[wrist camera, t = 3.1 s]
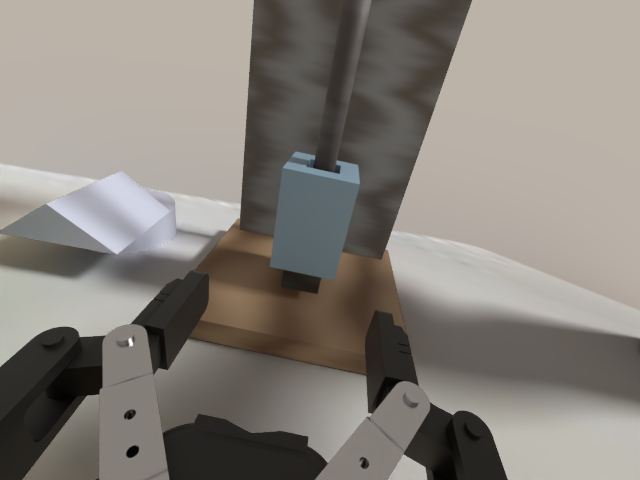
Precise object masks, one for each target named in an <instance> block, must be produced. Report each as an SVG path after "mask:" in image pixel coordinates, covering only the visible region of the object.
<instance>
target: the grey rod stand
mask: <svg viewBox="0 0 640 480" xmlns="http://www.w3.org/2000/svg"><path fill="white" fill-rule="evenodd" d="M471 2H472V0H254V9H253V25H252V40H251V56H250V57H251V58H250V72H249V88H248V105H247V119H246V137H245V151H244V167H243V183H242V198H241V214H240V219H239V218H238V219H237V220H236V222H235V223H234V224H233V225H232V226H231V228H230V229H229V230H228V231H227V232H226V234H225V235H224V236H223V237H222V238H221V240H220V241H219V242H218V243H217V244H216V246H215V247H214V248H213V249H212V250H211V252H210V253H209V254H208V255H207V256H206V258H205V259H204V260H203V261H202V262H201V264H200V265H199V266H198V267H197V268H196V270H195V271H198V272H202V273H207V274H208V275H209V301H208V305H207V308H206V310H205V312H204V314H203V315H202V317H201V319H200V320H199V322H198V323H197V325H196V326H195V328H194V329H193V331H192V333H191V334H190V336H189V338H194V339H199V340H203V341H208V342H213V343H218V344H222V345H227V346H232V347H237V348H241V349H246V350H251V351H256V352H260V353H265V354H270V355H275V356H279V357H284V358H289V359H294V360H298V361H303V362H308V363H313V364H317V365H322V366H327V367H332V368H337V369H341V370H346V371H351V372H356V373H360V374H365V375H366V359H365V338H366V334H367V331H368V328H369V325H370V323H371V320H372V317H373V315H374V312H375V310H379V311H384V312H389V313H392V315H393V320H394V325H397V326H401V327H402V328H403V330H404V331H405V326H404V322H403V317H402V313H401V308H400V303H399V299H398V294H397V290H396V285H395V281H394V276H393V271H392V267H391V262H390V258H389V253H388V250H385V248H386V246H387V243H388V240H389V237H390V234H391V231H392V228H393V225H394V222H395V220H396V217H397V214H398V211H399V208H400V205H401V202H402V199H403V197H404V194H405V191H406V188H407V185H408V182H409V180H410V176H411V173H412V171H413V168H414V165H415V162H416V159H417V157H418V154H419V151H420V147H421V145H422V142H423V139H424V137H425V134H426V131H427V128H428V125H429V122H430V119H431V116H432V114H433V111H434V108H435V105H436V102H437V99H438V96H439V94H440V91H441V88H442V85H443V82H444V79H445V76H446V73H447V70H448V68H449V65H450V62H451V59H452V56H453V53H454V51H455V48H456V45H457V42H458V39H459V36H460V33H461V30H462V28H463V25H464V22H465V19H466V16H467V13H468V10H469V7H470V5H471ZM295 152H301V153H305V154H310V155H315V160H314V166H313V168H314V169H319V170H323V171H328V172H333V173H334V171H335V167H336V162H337V160H338V161H342V162H347V163H352V164H356V165H358V168H359V180H360V186H359V190H358V193H357V197H356V201H355V205H354V208H353V212H352V216H351V220H350V223H349V227H348V231H347V235H346V238H345V242H344V246H343V250H342V253H341V257H340V261H339V265H338V269H337V272H336V276H335V280H330V279H325V278H321V277H316V276H311V275H306V274H302V273H297V272H292V271H288V270H283V269H278V268H273V267H270V262H271V254H272V246H273V238H274V231H275V223H276V215H277V207H278V200H279V192H280V184H281V176H282V169H283V167H284V165H285V164H286V163H287V162H288V160H289V159H290V158H291V157H292V155H293V154H294V153H295ZM405 333H406V331H405Z"/></svg>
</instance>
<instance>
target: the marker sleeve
mask: <svg viewBox="0 0 640 480" xmlns="http://www.w3.org/2000/svg"><path fill="white" fill-rule="evenodd" d="M314 160H315V155H310V154H305V153H301V152H295V153H294V154H293V155H292V157H291V158H290V159H289V160H288V162H287V163H286V164H285V165H284V167H283V169H282V176H281V184H280V192H279V200H278V207H277V215H276V223H275V231H274V238H273V246H272V254H271V262H270V267H273V268H278V269H283V270H288V271H292V272H297V273H302V274H306V275H311V276H316V277H321V278H325V279H330V280H335V276H336V272H337V269H338V265H339V261H340V257H341V253H342V250H343V246H344V242H345V238H346V235H347V231H348V227H349V223H350V220H351V216H352V212H353V208H354V205H355V201H356V197H357V193H358V190H359V186H360V180H359V168H358V165H356V164H352V163H347V162H342V161H338V160H337V162H336V167H335V171H334V173H333V172H328V171H323V170H319V169H314V168H313V166H314Z"/></svg>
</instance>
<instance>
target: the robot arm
mask: <svg viewBox="0 0 640 480" xmlns="http://www.w3.org/2000/svg"><path fill="white" fill-rule="evenodd" d="M208 301H209V275H208V274H207V273H202V272H198V271H193V270H192V271H190V272H189V273H188V274H187V276H186V277H185V278H184V279H183V280H182V279H176V280H174V281H172V282H170V283H168V284H167V285H166V286H165V287H164V288H163V289H162V290H161V291H160V293H159V294H158V295H157V296H156V297H155V298H154V300H152V301H151V302H150V303H149V304H148V305H147V307H146V308H145V309H144V310H143V311H142V312H141V313H140V314H139V315H138V316H137V317H136V319H135V320H134V321H133V322H132V323H131V324H129V325H123V326H120V327H118V328H116V329H114V330H112V331H111V332H109V333H108V334H107V335H106V336H93V337H79V333H78V331H77V330H76V329H74V328H71V327H57V328H52V329H49V330H47V331H44V332H42V333H40V334H39V335H37V336H36V337H34V338H33V339H32V340H31V341H30V342H28V343H27V344H26V345H25V346H24V347H23V348H22V349H20V350H19V351H18V352H17V353H16V354H15V355H14V356H12V357H11V358H10V359H9V360H8V361H7V362H6V363H4V364H3V365H2V366H1V367H0V480H22V479H23V478H24V477H25V475H26V474H27V473H28V471H29V470H30V469H31V467H32V466H33V465H34V464H35V462H36V461H37V460H38V458H39V457H40V456H41V454H42V453H43V452H44V451H45V449H46V448H47V447H48V445H49V444H50V443H51V442H52V440H53V439H54V438H55V436H56V435H57V434H58V432H59V431H60V430H61V429H62V427H63V426H64V425H65V423H66V422H67V421H68V419H69V418H70V417H71V416H72V414H73V413H74V412H75V410H76V409H77V408H78V406H79V405H80V404H81V403H82V401H83V400H84V399H85V397H86V396H88V395H97V394H100V395H99V478H98V479H96V480H388V478H389V477H390V475H391V473H392V472H393V470H394V468H395V467H396V465H397V464H398V462H399V460H400V459H401V457H402V455H403V454H404V455H406V456H407V457H409V458H411V459H413V460H414V461H416V462H418V463H419V464H421V465H423V466H425V467H426V473H427V480H508V479H507V476H506V474H505V471H504V468H503V465H502V462H501V459H500V456H499V453H498V451H497V448H496V445H495V442H494V439H493V436H492V434H491V432H490V430H489V428H488V427H487V425H486V424H485V423H484V422H483V421H482V420H481V419H480V418H479V417H478V416H476V415H474V414H473V413H471V412H468V411H458V412H456V413H455V414H454V416H453V415H451V414H450V413H448V412H446V411H444V410H442V409H440V408H438V407H436V406H435V405H433V404H432V403H431V402H430V401H429V398H428V396H427V395H426V393H425V392H424V391H423V390H422V389H421V388H420V387H419V385H418V381H417V376H416V372H415V367H414V363H413V358H412V355H411V349H410V347H409V346H410V345H409V340H408V336H407V334H406V333H405V331H404V330H403V328H402V327H401V326H397V325H394V320H393V315H392V313H389V312H384V311H379V310H375V312H374V315H373V317H372V320H371V323H370V325H369V328H368V331H367V334H366V338H365V359H366V378H367V397H368V413H372V415H371V416H370V417H367V418H366V419H365V420H364V421H363V422H362V423H361V424H360V426H359V427H358V428H357V429H356V430H355V432H354V433H353V434H352V435H351V437H350V438H349V439H348V440H347V441H346V443H345V444H344V445H343V446H342V447H341V449H340V450H339V451H338V452H337V454H336V455H335V456H334V457H333V458H332V460H331V461H330V462H329V463H327V462H326V461H325V459H324V458H323V457H322V456H321V455H320V454H318V453H317V452H316V451H315V450H313V449H312V448H310V447H308V446H307V444H308V437H307V436H302V435H297V434H293V433H288V432H283V431H277V432H264V433H250V432H248V431H246V430H244V429H242V428H240V427H238V426H236V425H235V424H233V423H231V422H229V421H227V420H225V419H220V418H215V417H211V416H206V415H201V414H198V416H197V418H196V420H195V422H194V423H190V424H185V425H181V426H178V427H175V428H172V429H170V430H168V431H166V432H164V433H162V428H161V421H160V415H159V408H158V402H157V395H156V388H155V382H154V374H155V372H156V371H157V369H158V368H161V369H165V370H168V369H169V367H170V366H171V364H172V362H173V361H174V359H175V358H176V356H177V355H178V353H179V351H180V350H181V348H182V347H183V345H184V344H185V342H186V340H187V339H188V337H189V336H190V334H191V333H192V331H193V329H194V328H195V326H196V325H197V323H198V322H199V320H200V319H201V317H202V315H203V314H204V312H205V310H206V308H207V305H208Z"/></svg>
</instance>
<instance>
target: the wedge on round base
mask: <svg viewBox="0 0 640 480" xmlns="http://www.w3.org/2000/svg"><path fill="white" fill-rule="evenodd" d="M0 234H5V235H11V236H16V237H22V238H28V239H33V240H39V241H44V242H50V243H56V244H61V245H67V246H72V247H78V248H84V249H89V250H91V251H95V252H99V253H105V254H132V253H139V252H144V251H148V250H152V249H155V248H157V247H160V246H162V245H164V244H166V243H167V242H169V241H170V240H171V239H172V238H173V237H174V236H175V234H176V214H175V201H174V199H173V198H172V197H171V196H170V195H168V194H166V193H164V192H161V191H158V190H154V189H150V188H144V187H140V186H139V185H138V184H136V183H135V182H134V181H133V180H132V179H131V178H129V177H128V176H127V175H126V174H124V173H123V172H122V171H120V172H118V173H116V174H113V175H111V176H109V177H107V178H104V179H102V180H100V181H97V182H95V183H93V184H90V185H88V186H86V187H83V188H81V189H79V190H76V191H74V192H72V193H70V194H67V195H65V196H63V197H60V198H58V199H56V200H53V201H51V202H49V203H47V204H45V205H43V206H41V207H40V208H38V209H36V210H34V211H33V212H31V213H29V214H28V215H26V216H24V217H23V218H21V219H19V220H17V221H16V222H14V223H12V224H11V225H9V226H7V227H6V228H4V229H2V230H0Z"/></svg>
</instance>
